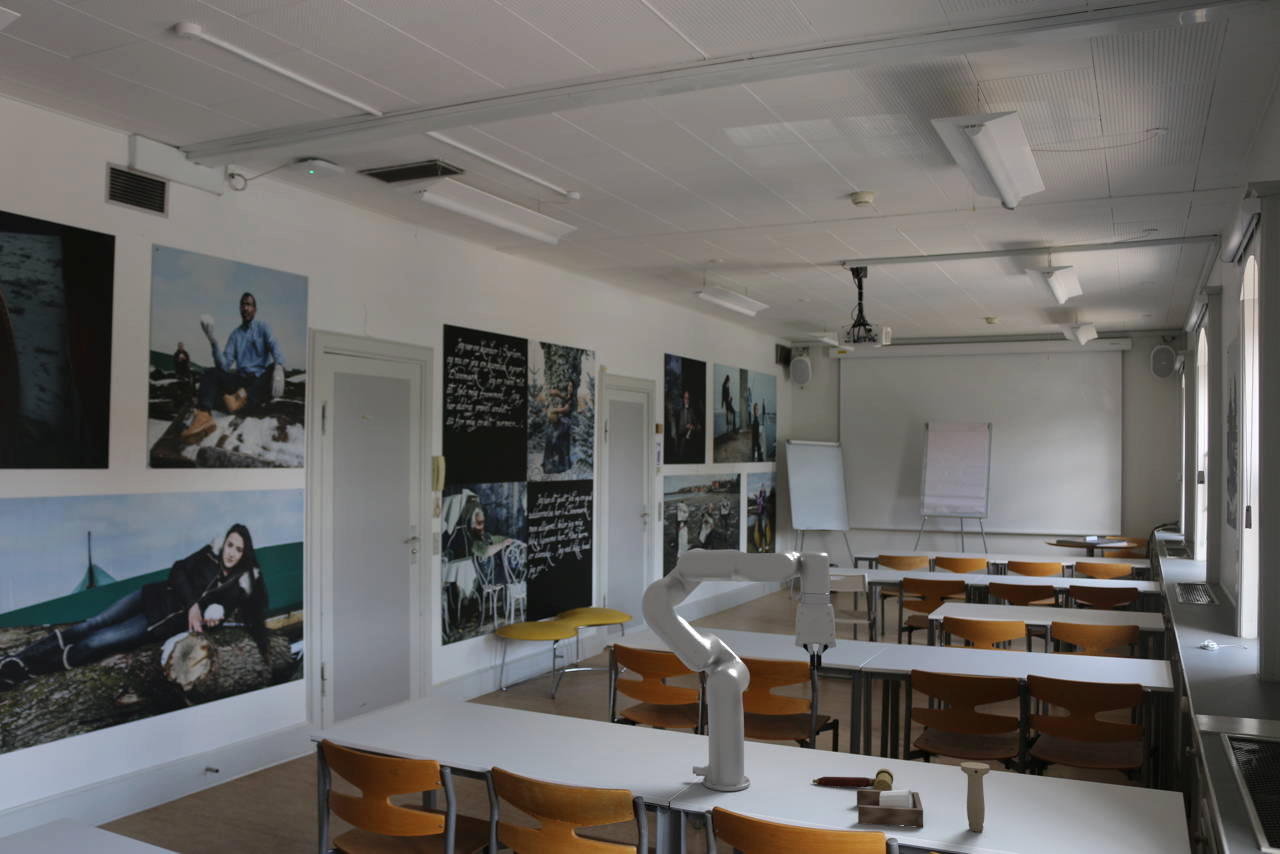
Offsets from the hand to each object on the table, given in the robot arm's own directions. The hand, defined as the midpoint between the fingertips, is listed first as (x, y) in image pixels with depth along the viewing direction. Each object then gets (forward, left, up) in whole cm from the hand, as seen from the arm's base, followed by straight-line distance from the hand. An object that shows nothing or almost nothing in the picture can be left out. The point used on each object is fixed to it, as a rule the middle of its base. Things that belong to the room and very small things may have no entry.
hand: (815, 669), depth 262 cm
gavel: (+9, +7, -33) cm, 35 cm away
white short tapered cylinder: (+16, -14, -29) cm, 36 cm away
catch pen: (+17, -14, -32) cm, 39 cm away
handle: (+37, -20, -32) cm, 53 cm away
